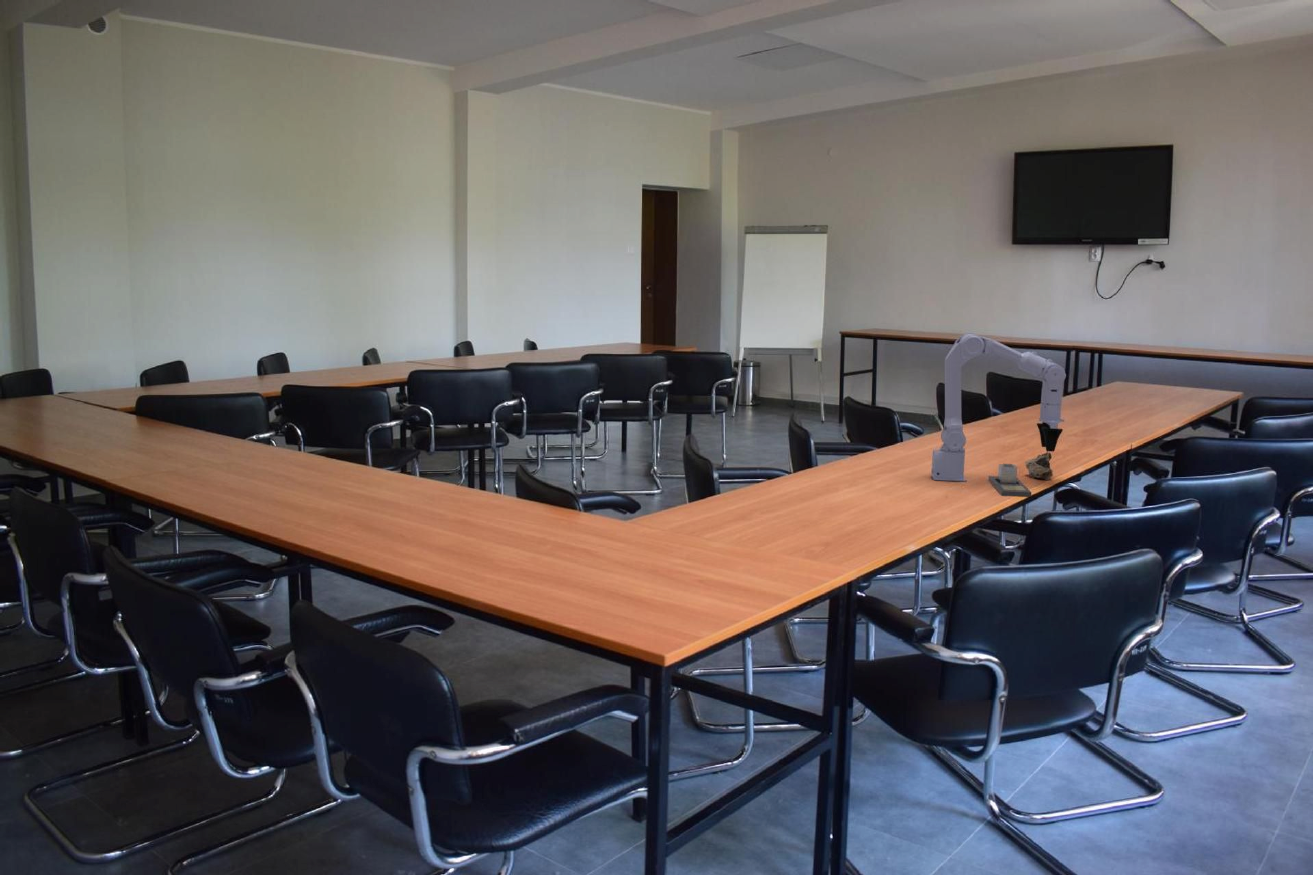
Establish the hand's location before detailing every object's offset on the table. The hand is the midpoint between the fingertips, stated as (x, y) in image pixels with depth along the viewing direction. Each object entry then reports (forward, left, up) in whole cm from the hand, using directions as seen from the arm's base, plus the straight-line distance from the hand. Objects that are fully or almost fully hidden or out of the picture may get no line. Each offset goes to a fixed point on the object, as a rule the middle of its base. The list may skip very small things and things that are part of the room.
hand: (1047, 449), depth 309 cm
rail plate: (-12, -11, -10) cm, 19 cm away
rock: (0, +7, -10) cm, 13 cm away
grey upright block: (-12, -7, -10) cm, 18 cm away
